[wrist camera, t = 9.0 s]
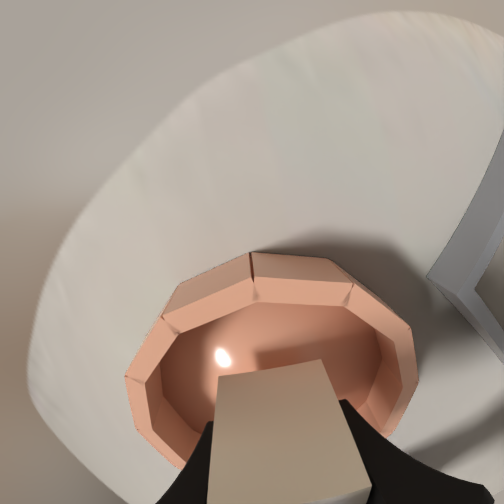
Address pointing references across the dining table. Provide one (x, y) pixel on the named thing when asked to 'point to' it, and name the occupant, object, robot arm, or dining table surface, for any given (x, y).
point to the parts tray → (475, 254)
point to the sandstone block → (283, 441)
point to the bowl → (267, 345)
